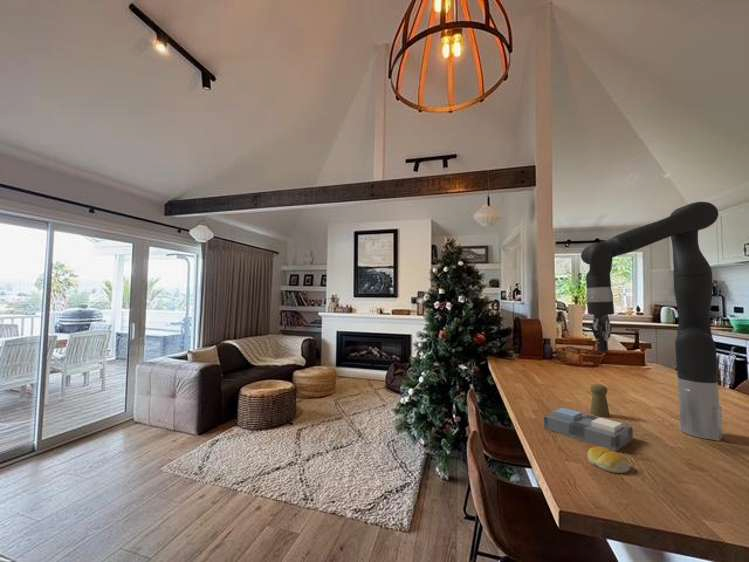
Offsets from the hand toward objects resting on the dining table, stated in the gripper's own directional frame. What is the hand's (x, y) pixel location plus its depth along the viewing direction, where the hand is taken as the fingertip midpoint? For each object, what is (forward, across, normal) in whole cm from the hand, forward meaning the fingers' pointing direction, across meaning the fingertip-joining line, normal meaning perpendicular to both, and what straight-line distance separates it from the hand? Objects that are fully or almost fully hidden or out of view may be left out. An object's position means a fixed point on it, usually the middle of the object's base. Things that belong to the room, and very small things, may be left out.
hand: (603, 351), depth 109 cm
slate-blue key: (+22, -10, +9) cm, 26 cm away
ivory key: (+23, -11, -3) cm, 25 cm away
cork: (+26, +14, +7) cm, 30 cm away
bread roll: (+26, -28, -8) cm, 39 cm away
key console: (+26, -11, +3) cm, 28 cm away
